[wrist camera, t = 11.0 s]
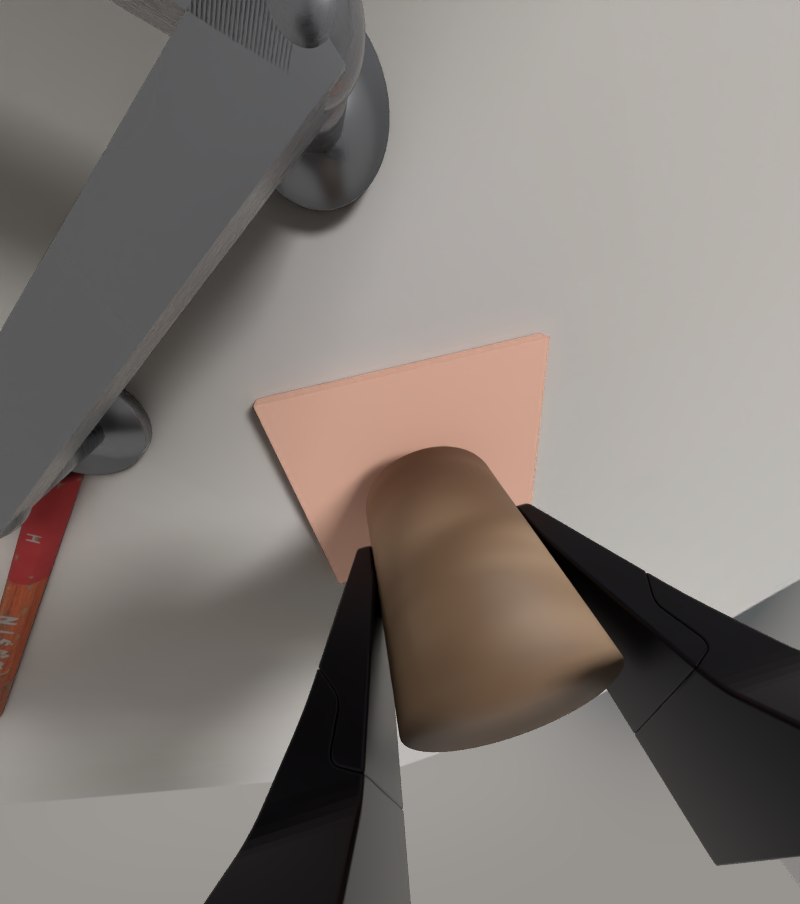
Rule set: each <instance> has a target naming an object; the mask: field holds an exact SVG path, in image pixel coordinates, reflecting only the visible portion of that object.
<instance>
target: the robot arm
mask: <svg viewBox="0 0 800 904" xmlns="http://www.w3.org/2000/svg"><path fill="white" fill-rule="evenodd" d="M516 507H517V508H518V509H519V511H520V512H521V514H522V515H523V516H524V518H525V519H526V521H527V522H528V524H529V525H530V526H531V528H532V529H533V531H534V532H535V533H536V535H537V536H538V538H539V539H540V540H541V542H542V543H543V545H544V546H545V547H546V549H547V550H548V552H549V553H550V554H551V556H552V557H553V559H554V560H555V561H556V563H557V564H558V566H559V567H560V568H561V570H562V571H563V573H564V574H565V575H566V577H567V578H568V580H569V581H570V582H571V584H572V585H573V587H574V588H575V589H576V591H577V592H578V594H579V595H580V596H581V598H582V599H583V601H584V602H585V603H586V605H587V606H588V608H589V609H590V610H591V612H592V613H593V615H594V616H595V618H596V619H597V620H598V622H599V623H600V625H601V626H602V627H603V629H604V630H605V632H606V633H607V634H608V636H609V637H610V639H611V640H612V641H613V643H614V644H615V646H616V647H617V648H618V650H619V651H620V653H621V654H622V655H623V657H624V666H623V669H622V671H621V673H620V674H619V676H618V677H617V678H616V680H615V681H614V682H613V683H612V684H611V685H610V686H609V687H608V688H606V689H607V690H608V692H609V693H610V695H611V697H612V698H613V700H614V702H615V703H616V705H617V706H618V708H619V710H620V711H621V713H622V715H623V716H624V718H625V719H626V721H627V722H628V724H629V726H630V727H631V729H632V731H633V732H634V733H635V735H636V737H637V739H638V741H639V742H640V744H641V745H642V747H643V749H644V750H645V752H646V754H647V755H648V757H649V758H650V760H651V762H652V763H653V765H654V767H655V768H656V770H657V772H658V773H659V775H660V776H661V778H662V780H663V781H664V782H665V785H666V786H667V788H668V789H669V791H670V792H671V794H672V796H673V797H674V799H675V801H676V802H677V804H678V806H679V807H680V809H681V810H682V812H683V814H684V815H685V817H686V818H687V820H688V822H689V823H690V825H691V827H692V828H693V830H694V832H695V833H696V835H697V836H698V838H699V839H700V841H701V843H702V844H703V846H704V848H705V849H706V851H707V852H708V854H709V855H710V857H711V859H712V860H713V862H714V863H715V864H716V865H717V866H719V865H728V864H738V863H746V862H756V861H765V860H774V859H780V860H781V862H782V863H783V865H784V866H785V867H786V869H787V870H788V871H789V873H790V874H791V876H793V878H794V879H795V881H796V882H797V884H798V885H799V886H800V650H797V649H795V648H793V647H790V646H788V645H786V644H784V643H782V642H780V641H778V640H776V639H774V638H772V637H769V636H768V635H765V634H764V633H761V632H760V631H758V630H756V629H754V628H751V627H749V626H747V625H745V624H743V623H741V622H739V621H737V620H735V619H733V618H731V617H729V616H727V615H725V614H723V613H721V612H719V611H717V610H715V609H713V608H711V607H709V606H707V605H706V604H704V603H702V602H700V601H698V600H696V599H694V598H692V597H690V596H688V595H686V594H684V593H683V592H681V591H679V590H677V589H675V588H674V587H672V586H670V585H668V584H667V583H665V582H663V581H661V580H660V579H658V578H656V577H654V576H653V575H651V574H649V573H646V572H645V571H644V570H642V569H640V568H639V567H637V566H635V565H634V564H632V563H630V562H628V561H627V560H625V559H623V558H622V557H620V556H618V555H616V554H615V553H613V552H611V551H610V550H608V549H606V548H604V547H603V546H601V545H599V544H598V543H596V542H594V541H592V540H591V539H589V538H587V537H586V536H584V535H582V534H580V533H579V532H577V531H575V530H574V529H572V528H570V527H568V526H567V525H565V524H563V523H562V522H560V521H558V520H556V519H555V518H553V517H551V516H550V515H548V514H546V513H544V512H543V511H541V510H539V509H538V508H536V507H534V506H532V505H531V504H528V503H525V504H521V505H518V506H516ZM319 668H320V669H318V670H317V673H316V676H315V679H314V682H313V685H312V688H311V691H310V693H309V696H308V699H307V702H306V705H305V707H304V710H303V713H302V715H301V718H300V720H299V722H298V725H297V727H296V730H295V732H294V735H293V737H292V739H291V742H290V744H289V746H288V749H287V751H286V753H285V756H284V758H283V760H282V762H281V765H280V767H279V769H278V772H277V774H276V776H275V779H274V781H273V783H272V786H271V788H270V790H269V793H268V795H267V797H266V799H265V802H264V804H263V806H262V809H261V811H260V813H259V815H258V818H257V819H256V821H255V823H254V825H253V828H252V830H251V831H250V833H249V835H248V837H247V839H246V841H245V842H244V844H243V846H242V847H241V849H240V851H239V852H238V854H237V855H236V857H235V858H234V860H233V861H232V863H231V864H230V866H229V868H228V869H227V870H226V872H225V873H224V875H223V876H222V878H221V879H220V881H219V882H218V883H217V885H216V886H215V888H214V890H213V891H212V892H211V894H210V895H209V897H208V898H207V900H206V901H205V903H204V904H411V901H410V890H409V876H408V864H407V851H406V839H405V826H404V814H403V810H402V809H403V802H402V790H401V777H400V765H399V752H398V740H397V727H396V715H395V702H394V696H393V689H392V682H391V676H390V669H389V662H388V656H387V649H386V642H385V636H384V629H383V622H382V616H381V609H380V602H379V595H378V587H377V580H376V574H375V567H374V560H373V554H372V548H371V546H366V547H362V548H359V549H358V550H357V552H356V555H355V558H354V561H353V564H352V567H351V570H350V573H349V576H348V579H347V582H346V585H345V588H344V591H343V594H342V597H341V600H340V603H339V606H338V609H337V612H336V615H335V618H334V621H333V625H332V628H331V631H330V634H329V637H328V640H327V643H326V646H325V649H324V652H323V655H322V658H321V661H320V664H319Z"/></svg>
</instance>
